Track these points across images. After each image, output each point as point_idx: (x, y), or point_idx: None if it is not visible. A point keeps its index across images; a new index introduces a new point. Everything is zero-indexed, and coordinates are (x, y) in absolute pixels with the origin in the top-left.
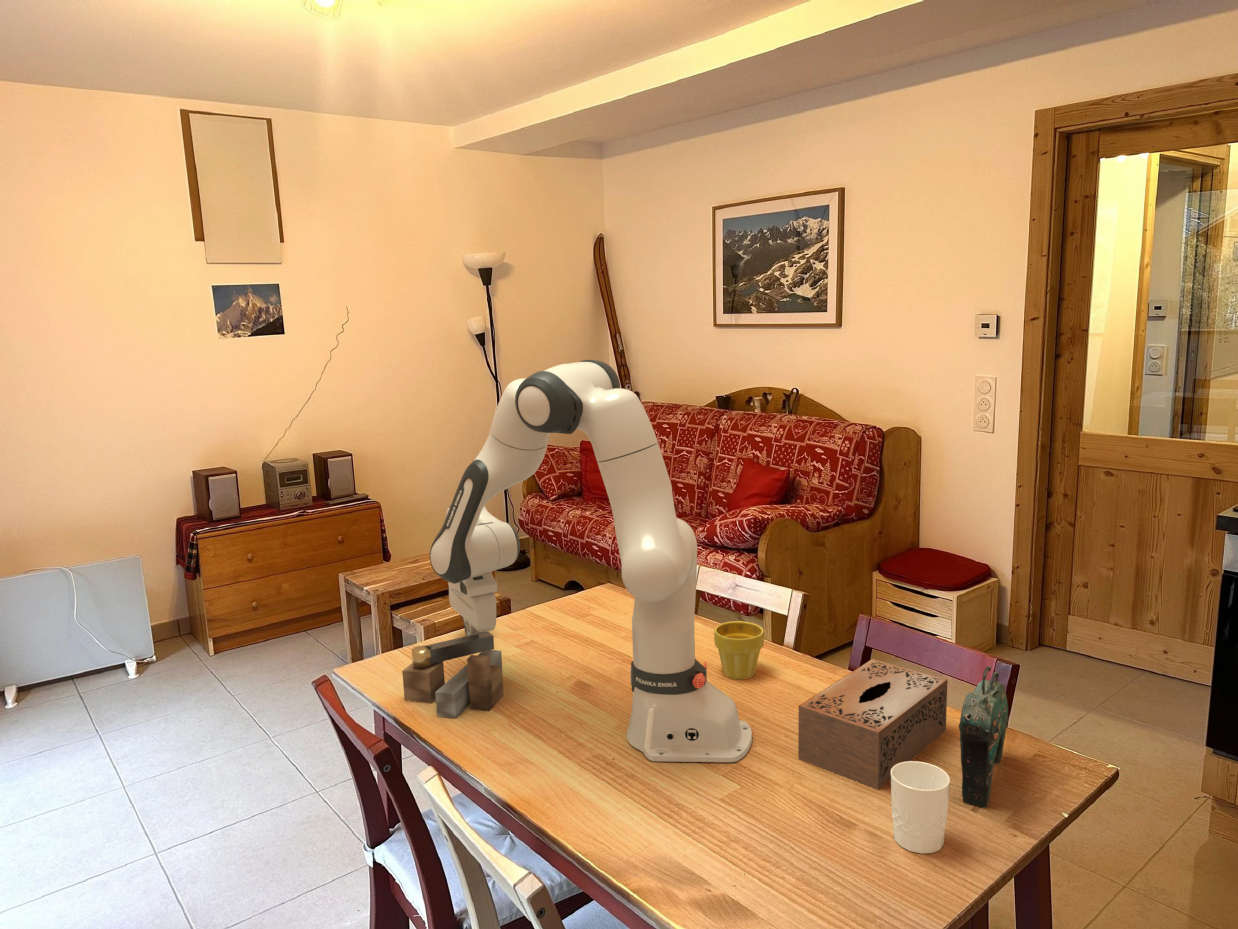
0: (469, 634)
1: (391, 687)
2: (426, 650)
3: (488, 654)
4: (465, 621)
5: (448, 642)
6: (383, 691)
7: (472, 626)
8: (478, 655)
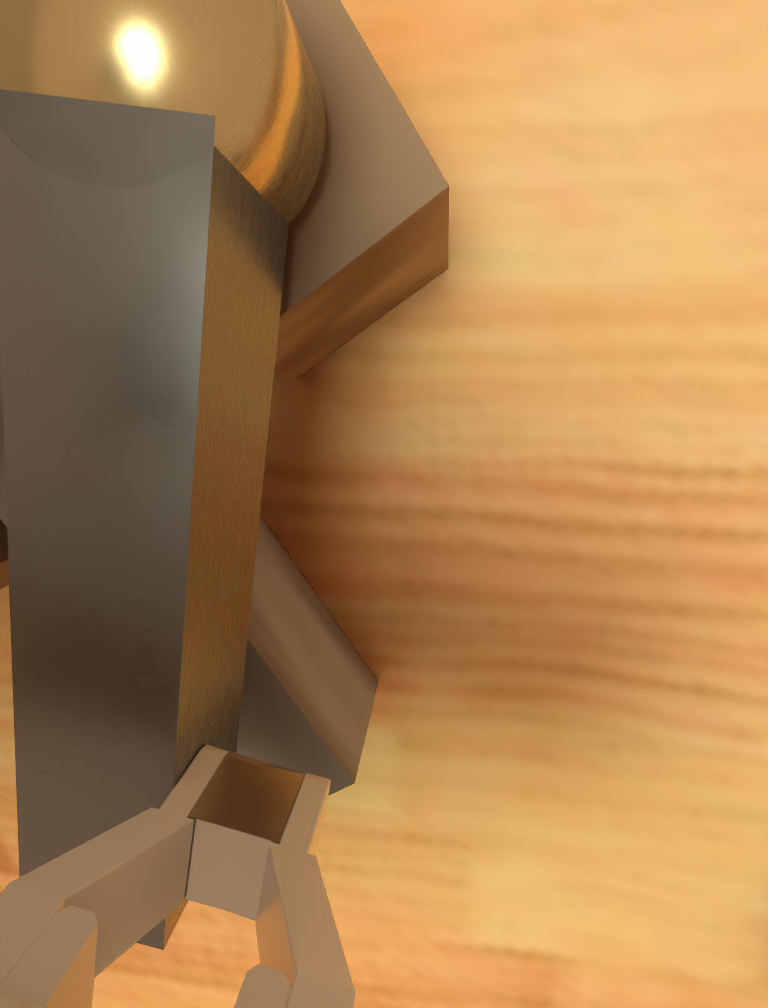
0: (216, 795)
1: (618, 106)
2: (6, 50)
3: (245, 747)
4: (259, 979)
5: (119, 480)
6: (601, 18)
7: (2, 911)
8: (276, 693)
